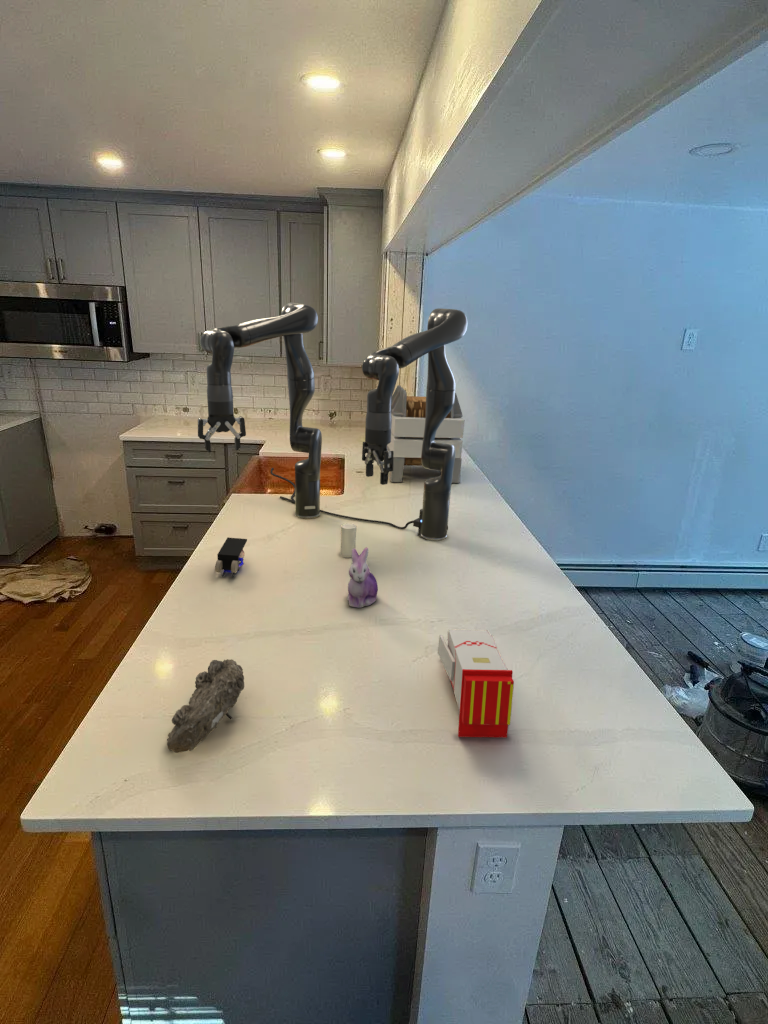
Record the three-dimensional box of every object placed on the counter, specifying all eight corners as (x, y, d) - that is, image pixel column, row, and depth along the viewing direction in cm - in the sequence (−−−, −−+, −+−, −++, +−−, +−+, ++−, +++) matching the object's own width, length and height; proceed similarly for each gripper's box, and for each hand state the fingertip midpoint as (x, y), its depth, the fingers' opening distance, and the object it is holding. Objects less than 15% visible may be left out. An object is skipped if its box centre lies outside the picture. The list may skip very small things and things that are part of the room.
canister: (338, 552, 183) (338, 524, 179) (352, 550, 185) (352, 522, 181) (343, 558, 179) (344, 529, 175) (357, 556, 180) (358, 527, 177)
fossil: (192, 660, 117) (244, 628, 112) (224, 691, 120) (276, 661, 115) (142, 746, 98) (202, 712, 93) (182, 779, 101) (242, 748, 96)
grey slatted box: (382, 463, 289) (386, 382, 275) (445, 464, 293) (451, 384, 279) (390, 482, 257) (394, 392, 243) (460, 483, 261) (468, 394, 247)
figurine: (354, 612, 147) (355, 559, 142) (338, 595, 155) (339, 544, 150) (386, 605, 151) (388, 553, 146) (369, 588, 160) (371, 539, 155)
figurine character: (238, 584, 162) (249, 557, 175) (236, 562, 158) (247, 536, 172) (215, 584, 161) (227, 556, 175) (212, 561, 158) (225, 535, 171)
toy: (488, 613, 130) (523, 677, 101) (484, 667, 133) (517, 744, 104) (435, 612, 130) (455, 676, 101) (432, 666, 133) (451, 743, 103)
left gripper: (240, 396, 179) (243, 446, 184) (193, 397, 173) (197, 449, 178) (246, 400, 172) (248, 452, 178) (198, 401, 166) (201, 455, 172)
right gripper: (355, 422, 167) (354, 475, 173) (379, 432, 156) (377, 488, 161) (377, 420, 171) (375, 472, 177) (402, 430, 160) (399, 485, 165)
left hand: (223, 450), depth 178 cm, fingers open, 8 cm apart
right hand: (376, 480), depth 169 cm, fingers open, 8 cm apart
